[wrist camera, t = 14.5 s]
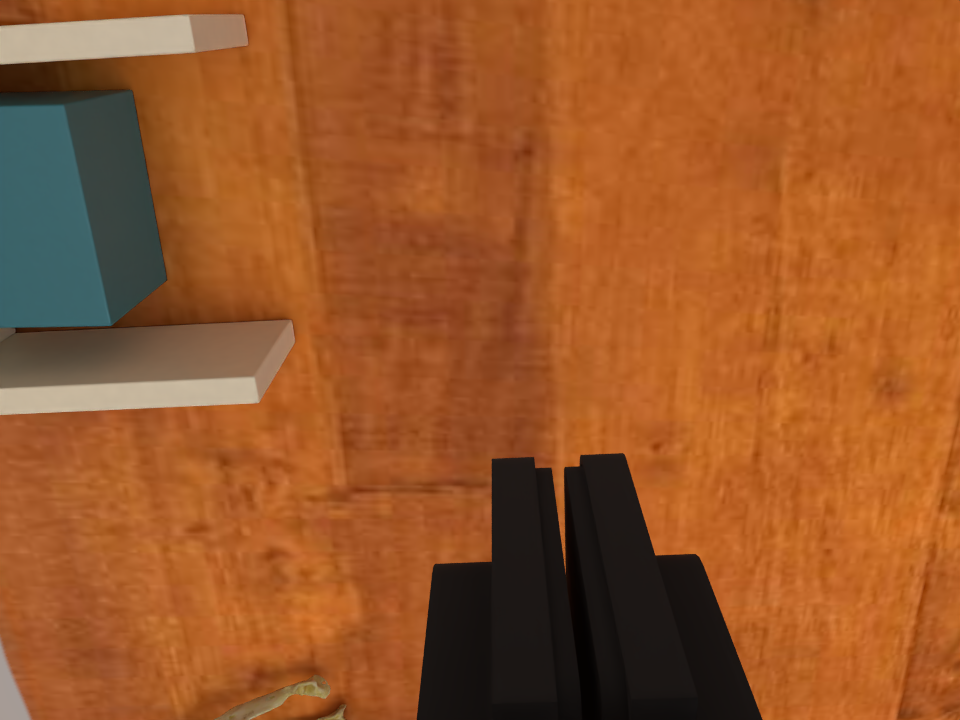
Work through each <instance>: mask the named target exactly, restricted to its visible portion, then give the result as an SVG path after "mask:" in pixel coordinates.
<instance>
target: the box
mask: <svg viewBox="0 0 960 720" xmlns="http://www.w3.org/2000/svg"><path fill="white" fill-rule="evenodd" d="M166 280H167V277H166V272H165V267H164V261H163V256H162V250H161V245H160V239H159V234H158V228H157V223H156V217H155V212H154V206H153V201H152V196H151V190H150V185H149V179H148V174H147V168H146V163H145V157H144V152H143V146H142V141H141V136H140V130H139V125H138V119H137V114H136V108H135V103H134V97H133V92H132V90H94V91H51V92H9V93H0V328H23V327H83V326H112V325H113V324H114V323H115V322H117V321H118V320H119V319H120V318H122V317H123V316H124V315H125V314H126V313H128V312H129V311H130V310H131V309H132V308H134V307H135V306H136V305H137V304H139V303H140V302H141V301H142V300H143V299H145V298H146V297H147V296H148V295H149V294H151V293H152V292H153V291H154V290H156V289H157V288H158V287H159V286H160V285H162V284H163V283H164V282H165V281H166Z"/></svg>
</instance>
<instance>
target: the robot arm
mask: <svg viewBox="0 0 960 720" xmlns="http://www.w3.org/2000/svg"><path fill="white" fill-rule="evenodd" d="M564 495H565V551H566V574H565V566H564V559H563V551H562V544H561V536H560V529H559V521H558V513H557V506H556V498H555V491H554V483H553V476H552V469H551V468H535V462H534V457H525V458H502V459H492V562H474V563H448V564H435V565H434V567H433V573H432V581H431V590H430V600H429V609H428V619H427V628H426V638H425V647H424V657H423V666H422V675H421V685H420V694H419V704H418V713H417V720H762V717H761V715H760V712H759V709H758V707H757V704H756V702H755V699H754V696H753V694H752V691H751V689H750V686H749V683H748V681H747V678H746V676H745V673H744V670H743V668H742V665H741V662H740V660H739V657H738V655H737V652H736V649H735V647H734V644H733V642H732V639H731V636H730V634H729V631H728V629H727V626H726V623H725V621H724V618H723V616H722V613H721V610H720V608H719V605H718V603H717V600H716V597H715V595H714V592H713V590H712V587H711V584H710V582H709V579H708V576H707V574H706V571H705V569H704V566H703V564H702V562H701V560H700V558H699V557H698V556H697V555H696V554H683V555H657V556H655V553H654V550H653V546H652V543H651V540H650V537H649V533H648V530H647V527H646V523H645V520H644V517H643V513H642V510H641V507H640V503H639V500H638V497H637V493H636V490H635V487H634V484H633V480H632V477H631V474H630V470H629V467H628V464H627V460H626V457H625V455H624V454H623V453H619V454H596V455H581V456H580V466H579V467H565V468H564Z"/></svg>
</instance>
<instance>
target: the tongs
mask: <svg viewBox="0 0 960 720" xmlns="http://www.w3.org/2000/svg"><path fill="white" fill-rule="evenodd" d="M323 681H326V680H325V679H324V678H323V677H321V676H319V675H314V676H312V677H311V678H309V679H308V680H305V681H301V682H298V683H295V684H293V685H290V686H287V687H283V688H281V689H279V690H276V691H275V692H272V693H270V694H267V695H264V696H261V697H258V698H256V699H253V700H251V701H249V702H246V703H244V704H240V705H237V706H235V707H234V708H232V709H230V710H229V711H227V712H226V713H225V714H223V715H221V716H220V717H218V718H216V719H214V720H251V719H252V718H255V717H257V716H259V715H261V714H263V713H265V712H268V711H271V710H272V709H273V708H276V707H278V706H280V705H282V704H283V703H284V701H285V700H286V699H287V698H288V697H289V696H290V695H293V694H299V695H301V696H302V695H309V696H318V697H320V698H326V697H327V696H328V695H329V693H330V689H331V688H330V686H329V685H328V683H327V681H326V684H322V682H323ZM345 708H346V704H343V705H340V707H339V708H338V709H337V710H336V711H335V712H333V713H332V714H330V715H328V716H326V717H323V718H319V719H317V720H346V719H345V718H344V716H343V712H344V709H345Z"/></svg>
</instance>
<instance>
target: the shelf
mask: <svg viewBox="0 0 960 720" xmlns="http://www.w3.org/2000/svg"><path fill="white" fill-rule="evenodd" d="M247 45H248V37H247V31H246V25H245V18H244V15H243V14H185V15H169V16H153V17H137V18H120V19H104V20H88V21H72V22H56V23H40V24H24V25H8V26H0V65H2V64H19V63H35V62H52V61H68V60H85V59H101V58H118V57H134V56H151V55H168V54H184V53H197V52H204V51H212V50H219V49H227V48H234V47H242V46H247ZM15 332H16V330H15V328H0V415H7V414H29V413H52V412H74V411H96V410H118V409H140V408H162V407H184V406H206V405H228V404H250V403H259V402H260V400H261V399H262V397H263V395H264V394H265V392H266V390H267V389H268V387H269V385H270V384H271V382H272V380H273V379H274V377H275V375H276V373H277V372H278V370H279V368H280V367H281V365H282V363H283V362H284V360H285V358H286V357H287V355H288V353H289V352H290V350H291V348H292V347H293V345H294V343H295V337H294V330H293V324H292V320H273V321H253V322H232V323H212V324H191V325H171V326H151V327H130V328H110V329H89V330H69V331H48V332H28V333H15Z"/></svg>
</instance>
